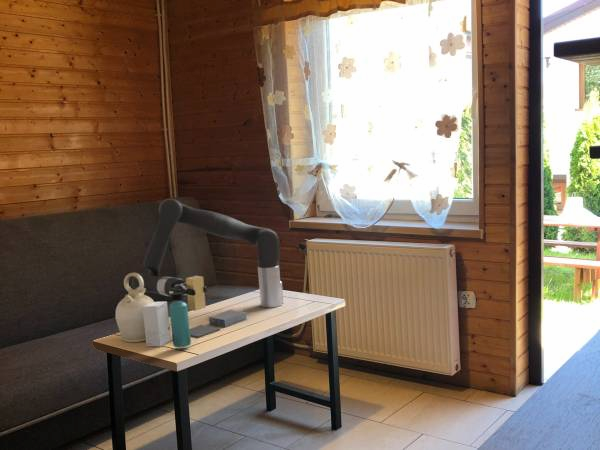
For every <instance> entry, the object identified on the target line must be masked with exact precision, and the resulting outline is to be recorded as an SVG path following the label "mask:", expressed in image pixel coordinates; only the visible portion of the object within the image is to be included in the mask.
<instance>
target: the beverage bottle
mask: <svg viewBox="0 0 600 450" xmlns="http://www.w3.org/2000/svg"><path fill="white" fill-rule="evenodd" d="M170 299H171V301H173V302H172V303H170V304H169V306H168V310H169V320H170V330H171V341H172V345H173V347H174V348H185V347H188V346H190V345H191V343H192V338H191V336H190V329H191V327H190V319H189V309H188V303H187V302H185V301H182V300H184V295H183V293H182V292H176V293H172V294H171V297H170ZM180 300H181V301H180Z"/></svg>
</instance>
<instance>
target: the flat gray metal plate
mask: <svg viewBox="0 0 600 450" xmlns="http://www.w3.org/2000/svg"><path fill="white" fill-rule="evenodd" d="M219 331H221V328H220V327H215V326H207V325H203V324H200V325H197V326H193V327H190V337H193V338H196V339H197V338H198V339H199V338H203V337H205V336H208V335H211V334H213V333H216V332H219Z"/></svg>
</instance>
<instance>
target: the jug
mask: <svg viewBox="0 0 600 450" xmlns="http://www.w3.org/2000/svg"><path fill="white" fill-rule="evenodd" d="M133 277H136V278H137V279H138V281H139V287H137V288H136V289H135V288H132V287H131V286H130V284H129V282H130V280H131V279H130V278H133ZM123 286H124V289H125V290H126V291H127V292H128V294H125V296H124V298H122V299H121V300H120V301H119V302H118V303H117V306H116V308H115V321H116V323H117V327H118V330H119V333H120V336H121V338H122V341H124V342H126V343H132V344H133V343H141V342H146V335H145V326H144V316H143V306H145V305H147V304H150V303H152V302H155V301H154V299H152V297H150V296H148V295H146V294H145V293H146V292H145V291H146V289H145V288H143V287H144V281H143V278H142V277H141V276H140V275H139V273H138V272H130V273H128V274H126V276H125V277H124V279H123Z"/></svg>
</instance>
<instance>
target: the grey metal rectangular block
mask: <svg viewBox="0 0 600 450" xmlns="http://www.w3.org/2000/svg"><path fill="white" fill-rule="evenodd" d="M247 320H248V318H247V312H246V311H240V310H234V309H229V310H227V311H224V312H223V311H222V312H220V313H217V314H215V315H211V316H208V323H209V324H208V325H210V326H214V327H215V326H216V327H219V328H220V327H221V328H227V327H230V326H234V325H235V324H238V323H242V322H244V321H247Z"/></svg>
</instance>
